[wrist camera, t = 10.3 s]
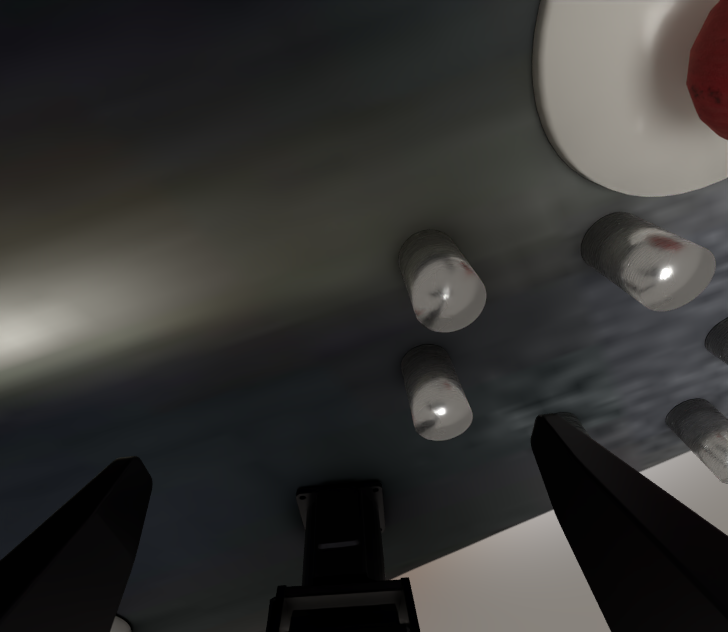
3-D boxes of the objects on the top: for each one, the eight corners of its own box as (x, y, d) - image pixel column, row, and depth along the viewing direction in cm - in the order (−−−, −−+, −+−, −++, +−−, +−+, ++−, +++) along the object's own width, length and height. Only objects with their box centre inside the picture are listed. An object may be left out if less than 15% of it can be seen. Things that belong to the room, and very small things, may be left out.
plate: (777, 177, 18) (803, 183, 17) (511, 202, 18) (521, 209, 17) (998, -272, 11) (1062, -306, 10) (571, -240, 11) (594, -272, 10)
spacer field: (699, 426, 28) (757, 481, 24) (403, 456, 28) (414, 517, 24) (835, 192, 19) (961, 220, 15) (397, 232, 19) (413, 272, 15)
